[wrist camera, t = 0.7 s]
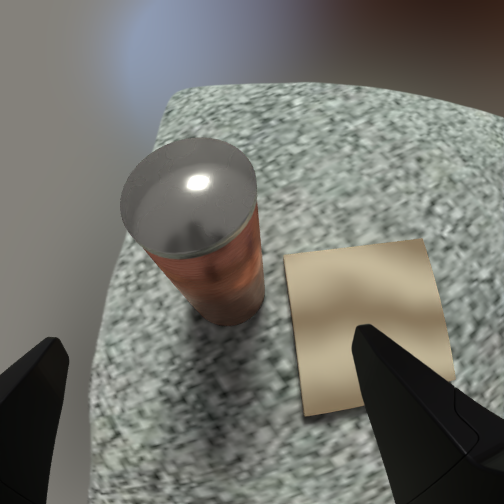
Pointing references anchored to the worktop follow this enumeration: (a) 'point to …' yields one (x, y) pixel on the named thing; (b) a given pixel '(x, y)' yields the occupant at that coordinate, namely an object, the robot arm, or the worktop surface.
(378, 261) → the coaster
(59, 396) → the robot arm
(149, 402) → the worktop surface
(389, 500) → the worktop surface
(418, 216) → the worktop surface
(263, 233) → the worktop surface
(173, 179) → the tin
